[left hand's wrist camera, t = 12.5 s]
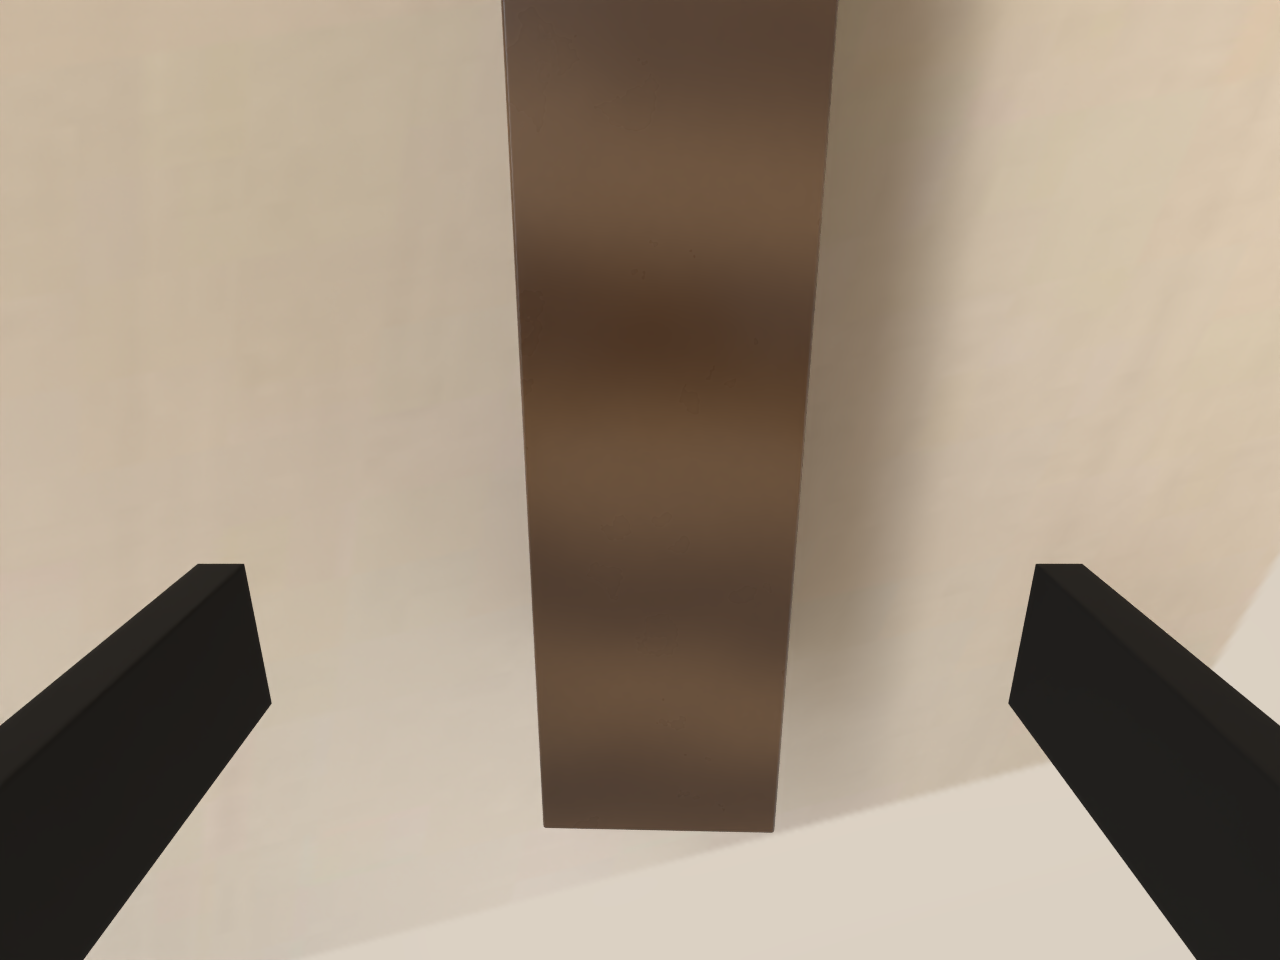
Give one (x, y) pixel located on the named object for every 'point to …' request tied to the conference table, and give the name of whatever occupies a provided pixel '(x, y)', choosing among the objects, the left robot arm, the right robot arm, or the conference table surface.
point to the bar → (664, 389)
